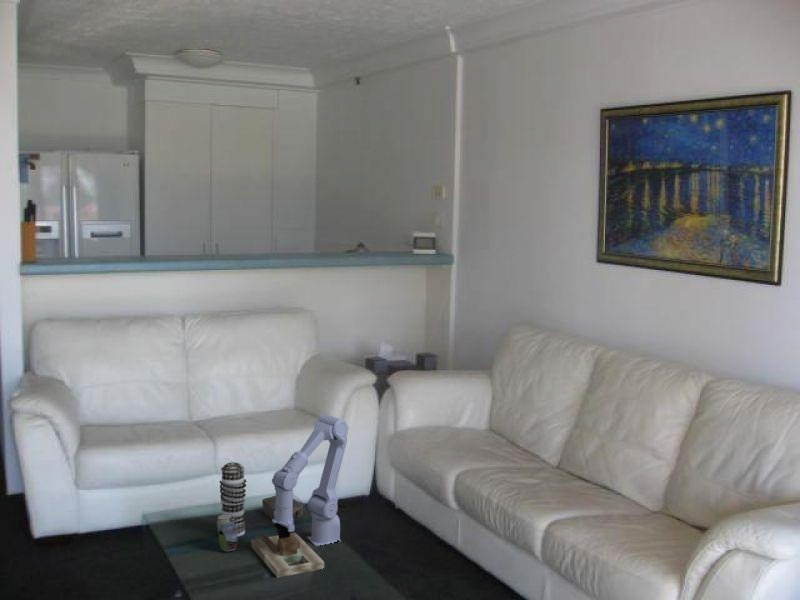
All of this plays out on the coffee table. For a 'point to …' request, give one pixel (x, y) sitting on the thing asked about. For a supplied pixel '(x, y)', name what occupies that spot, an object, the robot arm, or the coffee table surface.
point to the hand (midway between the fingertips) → (283, 544)
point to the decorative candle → (233, 494)
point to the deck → (289, 563)
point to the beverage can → (227, 532)
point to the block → (287, 546)
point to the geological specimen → (270, 507)
